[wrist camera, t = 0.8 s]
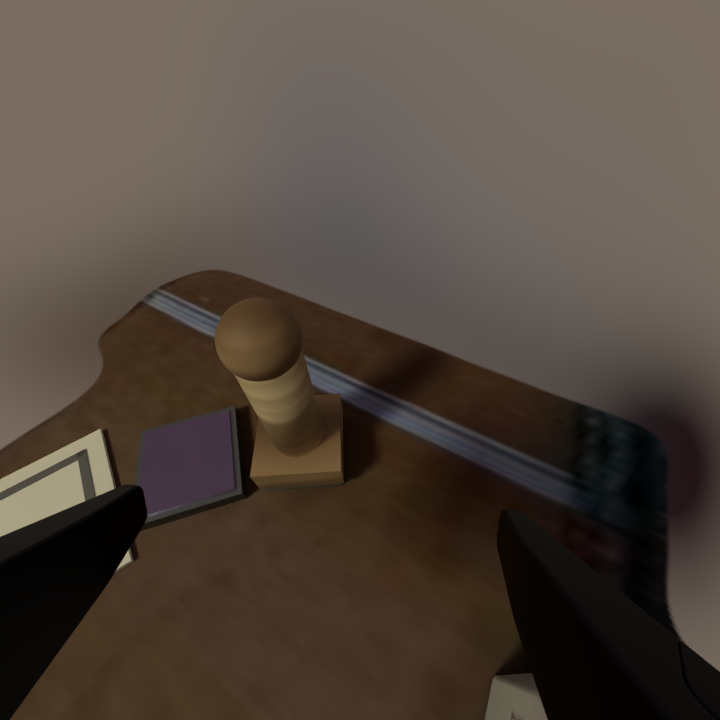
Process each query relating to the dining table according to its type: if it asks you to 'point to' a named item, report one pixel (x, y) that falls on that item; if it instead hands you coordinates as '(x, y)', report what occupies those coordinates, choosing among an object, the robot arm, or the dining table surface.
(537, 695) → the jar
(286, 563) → the dining table surface
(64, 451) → the print card
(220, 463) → the ink pad
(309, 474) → the stamp
